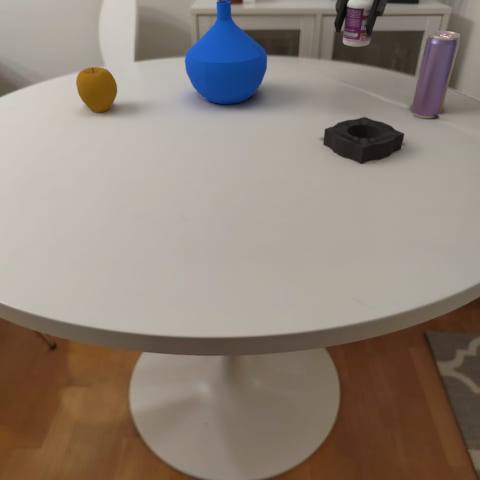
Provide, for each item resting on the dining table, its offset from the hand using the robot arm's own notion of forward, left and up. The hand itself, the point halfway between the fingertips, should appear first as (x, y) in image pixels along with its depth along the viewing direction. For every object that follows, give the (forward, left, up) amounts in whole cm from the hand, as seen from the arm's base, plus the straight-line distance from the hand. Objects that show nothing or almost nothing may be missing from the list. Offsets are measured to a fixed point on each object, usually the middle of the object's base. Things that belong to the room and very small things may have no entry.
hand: (352, 29), depth 86 cm
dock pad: (-14, +8, -16) cm, 23 cm away
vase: (+24, +14, -16) cm, 32 cm away
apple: (+34, +41, -16) cm, 56 cm away
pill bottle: (+2, -3, -4) cm, 5 cm away
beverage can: (-10, -14, -16) cm, 24 cm away
